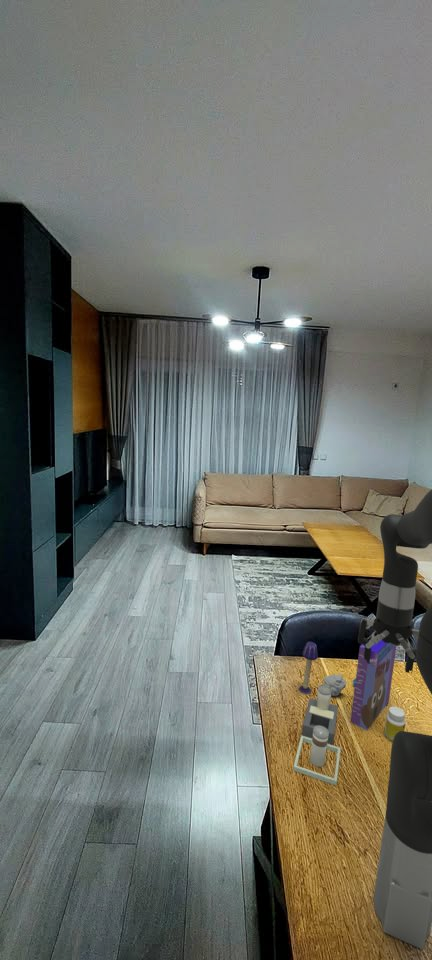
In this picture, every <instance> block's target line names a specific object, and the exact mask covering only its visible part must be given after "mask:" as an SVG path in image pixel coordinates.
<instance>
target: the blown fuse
mask: <svg viewBox="0 0 432 960" xmlns="http://www.w3.org/2000/svg"><path fill="white" fill-rule="evenodd" d="M328 736H329V731H328V729H327V728H325V727H323V726H320V725H317V726H315V727H314V729H313V736H312V738H311V739H312V744H310V745H311V747H310V753H309V762H310V763H311V764H312V765H313V766H315V767H317V768H319V767H323V766H324V765H325V761H326V756H327V755H326V754H327V750H328V749H327V744H328Z"/></svg>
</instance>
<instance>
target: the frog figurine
mask: <svg viewBox="0 0 432 960" xmlns="http://www.w3.org/2000/svg"><path fill="white" fill-rule="evenodd" d="M322 680H323V684H324V685H327V686H329V687H330V688H331V689H332V691H331V697H338V696H339V695H340V694H341V692H342V690H344V689H345V688H346V685H347V681H346V679H345V678H344V677H343V675H342V674H339V673H338V674H336V673H335V674H331V675H327V676H325V677H324V678H323V679H322Z"/></svg>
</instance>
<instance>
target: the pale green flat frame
mask: <svg viewBox="0 0 432 960" xmlns="http://www.w3.org/2000/svg"><path fill="white" fill-rule="evenodd" d="M303 742H304V743H306V744H307V743H308V744H310V745H312V738H309V737H306V736H303V735H302V734H301V735H300V739H299V743H298V747H297V751H296V755H295V760H294V764H293V767H292V768H293V769H292V771H294V772H296V773H299V774H302V775H304V776H308V777H311V778H314V779H316V780H320V781H322V782H325V783H328V784H331V785H333V786H337V784H338V783H337V782H338V772H339V765H340V764H339V763H340V756H341V749H342V748H341V747H339V746H335V745H331V744H328V743H327V749H326V750H329V751H331V752H335V753H337V754H336V761H335V763H336V764H335V770H334V777H330V776H328V775H325V774H322V773H319V772H316V771H313V770H311V769H307V768H304V767H301V766H299V765H298V764H299V763H298V762H299V759H300V754H301V751H302V747H303Z"/></svg>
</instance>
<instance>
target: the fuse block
mask: <svg viewBox="0 0 432 960" xmlns="http://www.w3.org/2000/svg"><path fill="white" fill-rule="evenodd" d="M331 691H332V689H331V688H330V687H329V686H327V685H324V683H323V684H319V685H318V688H317V696H316V699H314V698H311V697H309V699H308V703H307V708H306V711H305V715H304V719H303V724H302V730H301V731H302V732H301V735H302V736H305V737H308V738H311V739H312V736H313V729H314V727H315V726H317V725H320V726H323V727H325V728H327V729H328V731H329V736H328V743H327V744H330V745H333V744H334V738H335V731H336V726H337V725H336V722H337V717H338V711H339V710H338V709H339V706H338V705H336V704H332V703H331V697H332V696H331ZM333 746H334V745H333Z"/></svg>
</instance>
